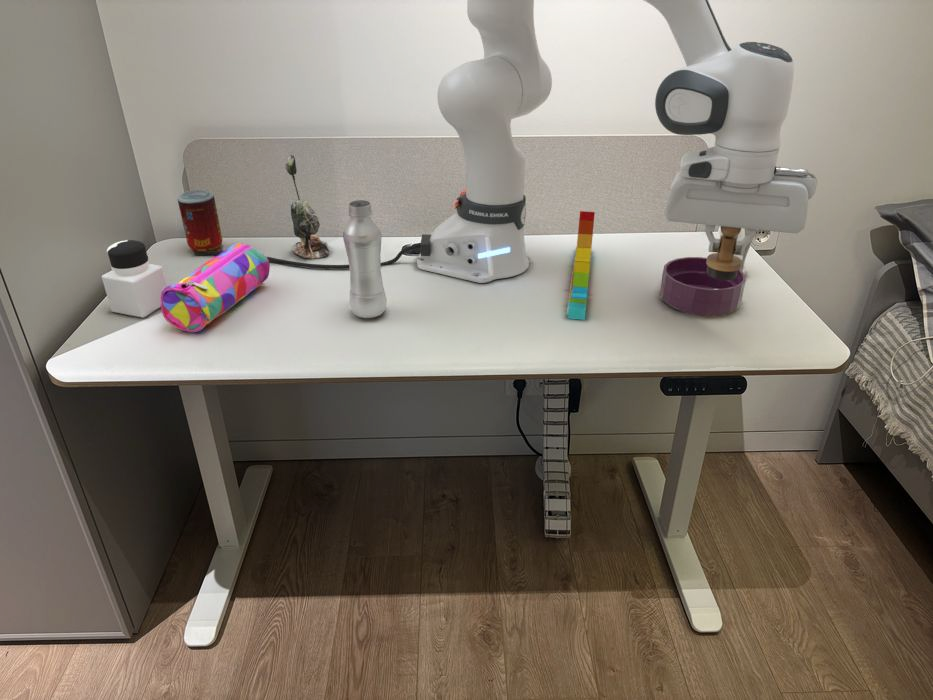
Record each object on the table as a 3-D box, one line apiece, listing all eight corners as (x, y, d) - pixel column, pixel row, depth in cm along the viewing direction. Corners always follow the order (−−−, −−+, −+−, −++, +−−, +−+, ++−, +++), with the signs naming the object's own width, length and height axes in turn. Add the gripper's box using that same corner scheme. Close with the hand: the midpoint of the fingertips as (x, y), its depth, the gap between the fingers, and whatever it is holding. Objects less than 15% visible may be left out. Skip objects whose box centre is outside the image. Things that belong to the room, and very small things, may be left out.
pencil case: (209, 341, 114) (198, 291, 109) (160, 333, 116) (147, 284, 112) (276, 285, 132) (269, 241, 127) (233, 279, 134) (225, 235, 130)
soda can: (188, 246, 149) (176, 190, 143) (222, 241, 151) (212, 186, 145) (189, 258, 143) (177, 200, 137) (225, 253, 145) (214, 196, 139)
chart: (575, 251, 146) (581, 181, 138) (590, 252, 146) (597, 182, 138) (566, 318, 120) (572, 237, 113) (584, 320, 120) (592, 238, 112)
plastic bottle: (358, 325, 118) (347, 213, 108) (345, 309, 124) (333, 200, 113) (393, 317, 121) (386, 206, 111) (379, 302, 126) (371, 194, 116)
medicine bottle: (171, 301, 127) (156, 239, 120) (143, 318, 121) (126, 254, 115) (139, 295, 129) (123, 234, 122) (110, 312, 123) (92, 249, 117)
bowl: (656, 312, 123) (660, 283, 120) (662, 279, 134) (666, 253, 131) (740, 323, 119) (746, 294, 116) (739, 289, 130) (745, 262, 127)
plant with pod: (285, 264, 141) (271, 166, 130) (297, 243, 150) (284, 150, 140) (325, 264, 141) (314, 166, 130) (334, 242, 150) (324, 149, 140)
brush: (704, 265, 113) (715, 211, 109) (738, 270, 112) (750, 214, 107) (703, 278, 109) (714, 222, 104) (738, 283, 108) (751, 225, 103)
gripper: (817, 164, 101) (795, 252, 109) (673, 153, 107) (661, 238, 114) (822, 176, 96) (799, 268, 103) (670, 164, 102) (658, 252, 109)
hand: (725, 252), depth 109 cm, fingers closed on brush, 2 cm apart
